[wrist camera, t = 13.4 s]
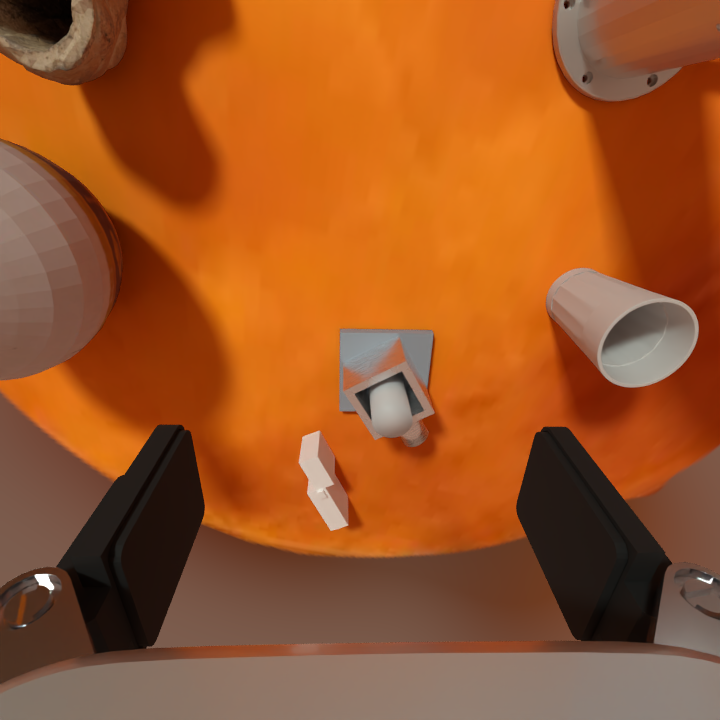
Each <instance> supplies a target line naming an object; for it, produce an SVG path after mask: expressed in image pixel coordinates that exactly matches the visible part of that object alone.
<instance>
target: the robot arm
mask: <svg viewBox="0 0 720 720" xmlns="http://www.w3.org/2000/svg"><path fill="white" fill-rule="evenodd" d="M564 2H565V3H566V4H567V8H566V9H565V7H564ZM552 35H553V47H554V51H555V54H556V58H557V62H558V64H559V66H560V68H561V70H562V72H563V74H564V76H565V77H566V79H567V80H568V81H569V82H570V84H571V85H572V86H573V87H574V88H575V89H577V90H578V91H579V92H580V93H582V94H583V95H585V96H588V97H590V98H592V99H595V100H600V101H606V102H613V101H624V100H629V99H634V98H637V97H640V96H642V95H645V94H647V93H650V92H651V91H653V90H655V89H656V88H658V87H660V86H661V85H663V84H665V83H666V82H667V81H668V80H669V79H671V78H672V77H673V76H674V75H675V74H676V73H678V72H679V71H680V69H681V68H682V67H683V66H687V65H691V64H696V63H700V62H704V61H709V60H713V59H718V58H720V0H556V1H555V6H554V10H553V23H552ZM583 76H584V77H585V80H584V82H582V77H583ZM647 80H648V83H647ZM516 509H517V515H518V518H519V520H520V522H521V524H522V527H523V529H524V531H525V533H526V535H527V537H528V540H529V542H530V544H531V546H532V548H533V550H534V553H535V555H536V557H537V559H538V561H539V564H540V566H541V568H542V570H543V572H544V574H545V577H546V579H547V581H548V583H549V585H550V587H551V590H552V592H553V594H554V596H555V598H556V600H557V603H558V605H559V607H560V609H561V611H562V613H563V616H564V618H565V620H566V622H567V624H568V627H569V629H570V630H571V633H572V635H573V636H574V637H575V639H577V640H581V641H491V642H490V641H486V642H485V641H484V642H403V643H402V642H401V643H336V644H288V645H287V644H284V645H239V646H238V645H236V646H200V647H174V648H150V649H146V647H147V646H152V645H154V643H155V642H156V640H157V637H158V635H159V632H160V629H161V627H162V624H163V621H164V619H165V616H166V614H167V611H168V608H169V606H170V603H171V601H172V598H173V595H174V593H175V590H176V587H177V585H178V582H179V580H180V577H181V574H182V572H183V569H184V567H185V564H186V561H187V558H188V556H189V553H190V551H191V548H192V546H193V543H194V540H195V538H196V535H197V532H198V530H199V527H200V525H201V522H202V519H203V516H204V510H205V505H204V499H203V493H202V488H201V483H200V478H199V473H198V467H197V462H196V457H195V452H194V446H193V441H192V436H191V432H190V431H189V430H184V427H183V426H182V425H158V426H157V427H156V428H155V430H154V431H153V433H152V434H151V436H150V437H149V439H148V440H147V442H146V443H145V445H144V446H143V448H142V449H141V451H140V452H139V454H138V455H137V457H136V458H135V460H134V461H133V463H132V464H131V466H130V467H129V469H128V470H127V472H126V473H125V475H122V476H120V477H118V478H117V479H116V481H115V482H114V483H113V485H112V486H111V488H110V489H109V490H108V492H107V493H106V495H105V496H104V498H103V499H102V501H101V502H100V504H99V505H98V507H97V508H96V510H95V511H94V512H93V514H92V515H91V517H90V518H89V520H88V521H87V523H86V524H85V526H84V527H83V528H82V530H81V531H80V533H79V534H78V536H77V537H76V539H75V540H74V542H73V543H72V545H71V546H70V547H69V549H68V550H67V552H66V554H65V555H64V556H63V558H62V559H61V561H60V562H59V564H58V565H57V566H56V567H43V568H38V569H34V570H31V571H28V572H26V573H23V574H21V575H19V576H17V577H15V578H14V579H12V580H10V581H9V582H7V583H6V584H5V585H3V586H2V587H1V588H0V720H720V575H719V574H717V573H715V572H713V571H712V570H710V569H708V568H705V567H702V566H700V565H697V564H693V563H687V562H679V563H674V564H672V562H671V561H670V560H669V559H668V557H667V556H666V555H665V552H664V550H663V549H662V548H661V547H660V545H659V544H658V543H657V541H656V540H655V539H654V537H652V535H651V534H650V532H649V531H648V530H647V528H646V527H645V526H644V525H643V523H642V522H641V521H640V520H639V519H638V517H637V516H636V514H635V513H634V512H633V511H632V509H631V508H630V507H629V505H628V504H627V503H626V502H625V500H624V499H623V498H622V496H621V495H620V494H619V493H618V491H617V490H616V489H615V487H614V486H613V485H612V484H611V482H610V481H609V480H608V478H607V477H606V476H605V475H604V473H603V472H602V471H601V469H600V468H599V467H598V466H597V464H596V463H595V462H594V461H593V459H592V458H591V457H590V455H589V454H588V453H587V452H586V450H585V449H584V448H583V446H582V445H581V444H580V443H579V441H578V440H577V439H576V437H575V436H574V435H573V434H572V432H571V431H570V430H569V429H568V428H567V427H543V429H542V430H541V432H537V433H536V434H535V437H534V440H533V444H532V448H531V452H530V455H529V459H528V463H527V466H526V470H525V474H524V478H523V481H522V485H521V489H520V493H519V496H518V500H517V505H516Z"/></svg>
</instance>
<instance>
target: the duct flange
mask: <svg viewBox="0 0 720 720" xmlns="http://www.w3.org/2000/svg"><path fill="white" fill-rule="evenodd" d="M398 335H399V336H400V338H401V340H402V342H403V344H404V346H405V347H406V349H407V351H408V353H409V355H410V357H411V358H412V360H413V362H414V364H415V366H416V368H417V369H418V371H419V373H420V375H421V377H422V379H423V380H424V382H425V385H426V388H427V386H428V377H429V369H430V360H431V352H432V343H433V335H434V334H433V331H432V330H384V329H340V411H356V410H355V409H354V407H353V406H352V404H351V403H350V401H349V400H348V398H347V396H346V395H345V393H344V392H343V363H344V362H346V361H348V360H350V359H352V358H354V357H356V356H358V355H360V354H362V353H364V352H366V351H368V350H370V349H372V348H374V347H376V346H378V345H380V344H382V343H384V342H386V341H388V340H390V339H392V338H394V337H396V336H398ZM408 384H409V383H408V381H407V379H406V377H405V376H404V374H403V372H402V371H401V372H399V373H397V374H395V375H393V376H391V377H389V378H387V379H384V380H382V381H380V382H378V383H376V384H374V385H372V386H370V387H368V390H369V396H370V407H371V418H372V426H373V428H374V430H375V431H376V432H377V433H378V434H379V435H381V436H384V437H388V438H394V437H399V436H401V435H403V434H405V433H406V432H407V431H408V430H409V429H410V428H411V426H412V422H413V418H412V413H411V409H410V405H409V401H408V397H407V393H406V389H405V386H406V385H408Z"/></svg>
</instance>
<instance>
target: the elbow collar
mask: <svg viewBox="0 0 720 720" xmlns="http://www.w3.org/2000/svg"><path fill="white" fill-rule="evenodd" d="M401 371H402V372H403V374H404V376H405V377H406V379H407V381H408V383H409V384H408V385H406V386H405V389H406V393H407V397H408V401H409V405H410V409H411V413H412V418H413V422H412V426H411V428H410V429H409V430H408V431H407V432H406V433H405V434H403V435H401V436H400V438H401V439H402V441H403V443H404V444H405V445H406V446H408V447H415V446H418V445H420V444H421V443H423V442H424V441H425V440H426V439H427V437H428V430H427V428H426V427H425V425H424V423H423V421H422V420H421V419H423V418H425V417H427V416H430V415H432V414H434V413H435V412H434V409H433V406H432V403H431V400H430V397H429V394H428V391H427V388H426V385H425V382H424V380H423V379H422V377H421V375H420V373H419V371H418V369H417V368H416V366H415V364H414V362H413V360H412V358H411V357H410V355H409V353H408V351H407V349H406V347H405V346H404V344H403V342H402V340H401V338H400V336H399V335H398V336H396V337H394V338H392V339H390V340H388V341H386V342H384V343H382V344H380V345H378V346H376V347H374V348H372V349H370V350H368V351H366V352H364V353H362V354H360V355H358V356H356V357H354V358H352V359H350V360H348V361H346V362H344V363H343V392H344V393H345V395H346V396H347V398H348V400H349V401H350V403H351V404H352V406H353V407H354V409H355V410H356V412H357V413H358V415H359V416H360V418H361V419H362V421H363V422H364V424H365V425H366V427H367V428H368V430H369V431H370V433H371V434H372V436H373V437H374V439H375V440H376V439H378V438H381V437H383V436H381V435H379V434H378V433H377V432H376V431H375V430H374V428H373V426H372V418H371V407H370V396H369V390H368V387H370V386H372V385H374V384H376V383H378V382H380V381H382V380H384V379H387V378H389V377H391V376H393V375H395V374H397V373H399V372H401Z"/></svg>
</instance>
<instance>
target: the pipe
mask: <svg viewBox="0 0 720 720" xmlns="http://www.w3.org/2000/svg"><path fill="white" fill-rule="evenodd" d="M127 7H128V0H0V53H2V54H3V55H5V56H6V57H8V58H10V59H11V60H13V61H15V62H16V63H19V64H21V65H23V66H24V67H25V68H26V70H27V71H30V72H32V73H34V74H36V75H38V76H40V77H42V78H45V79H48V80H52V81H56V82H58V83H61V84H65V85H80V84H82V83H84V82H89V81H92V80H94V79H96V78H98V77H100V76H102V75H103V74H104V73H105V72H106V71H107V70H108V69H112V68H113V67H115V66H116V65H118V63H119V62H120V60H121V59H122V57H123V55H124V52H125V50H126V45H127V25H126V14H127Z"/></svg>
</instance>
